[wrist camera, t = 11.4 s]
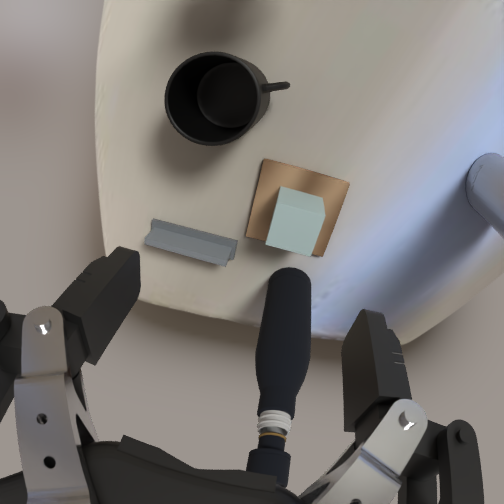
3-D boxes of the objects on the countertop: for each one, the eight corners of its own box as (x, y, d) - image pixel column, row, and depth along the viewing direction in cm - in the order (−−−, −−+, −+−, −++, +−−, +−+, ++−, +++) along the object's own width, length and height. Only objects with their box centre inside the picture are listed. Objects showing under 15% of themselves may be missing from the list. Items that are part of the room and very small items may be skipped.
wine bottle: (273, 262, 45) (233, 470, 19) (316, 272, 44) (311, 481, 19) (265, 295, 48) (225, 485, 23) (304, 304, 48) (290, 495, 22)
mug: (297, 122, 34) (296, 134, 26) (202, 137, 37) (175, 154, 29) (284, 48, 29) (279, 36, 22) (187, 68, 32) (155, 66, 24)
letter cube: (322, 197, 37) (325, 215, 33) (309, 236, 41) (309, 258, 36) (280, 186, 38) (277, 202, 33) (269, 225, 41) (265, 246, 36)
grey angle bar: (237, 240, 44) (231, 255, 40) (233, 257, 45) (228, 273, 42) (153, 218, 44) (141, 231, 40) (152, 235, 45) (141, 248, 42)
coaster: (348, 182, 37) (349, 184, 36) (322, 253, 43) (322, 256, 42) (264, 158, 37) (263, 159, 36) (246, 233, 43) (245, 236, 42)
